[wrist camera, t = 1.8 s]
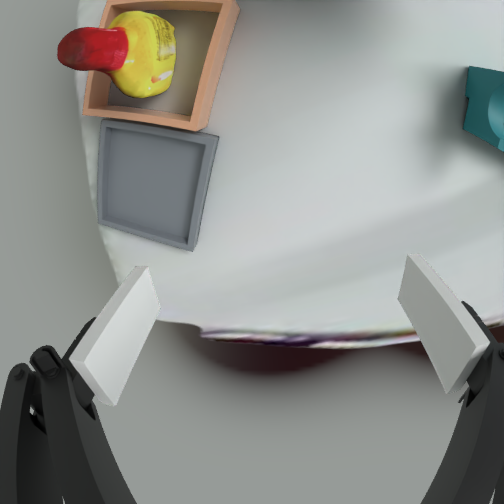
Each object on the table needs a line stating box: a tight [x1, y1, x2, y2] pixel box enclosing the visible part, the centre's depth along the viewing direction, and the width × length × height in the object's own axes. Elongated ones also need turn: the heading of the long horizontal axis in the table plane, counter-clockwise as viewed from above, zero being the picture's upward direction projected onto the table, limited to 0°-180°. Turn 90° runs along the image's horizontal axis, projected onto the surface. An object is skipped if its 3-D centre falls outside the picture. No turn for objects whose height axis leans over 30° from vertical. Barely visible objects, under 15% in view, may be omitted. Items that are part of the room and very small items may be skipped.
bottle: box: [57, 11, 176, 98], centre depth 20 cm, size 12×6×20 cm, turn 1°
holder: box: [82, 0, 240, 131], centre depth 27 cm, size 18×18×5 cm
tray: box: [97, 118, 219, 252], centre depth 38 cm, size 18×18×2 cm
